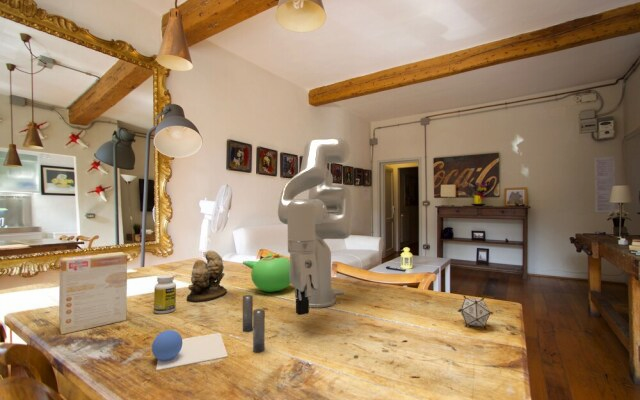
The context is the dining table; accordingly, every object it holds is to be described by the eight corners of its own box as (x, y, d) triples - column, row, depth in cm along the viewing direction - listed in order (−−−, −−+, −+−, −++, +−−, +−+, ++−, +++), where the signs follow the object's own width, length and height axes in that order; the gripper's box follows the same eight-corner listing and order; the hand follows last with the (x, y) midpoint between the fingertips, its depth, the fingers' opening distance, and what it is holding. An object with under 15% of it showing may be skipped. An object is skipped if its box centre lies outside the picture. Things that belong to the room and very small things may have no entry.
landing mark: (220, 333, 81) (220, 332, 81) (227, 356, 68) (227, 355, 68) (160, 343, 75) (160, 342, 75) (156, 370, 63) (156, 369, 63)
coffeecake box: (121, 314, 96) (122, 251, 96) (127, 320, 91) (128, 253, 91) (57, 327, 85) (59, 256, 86) (60, 335, 80) (62, 259, 81)
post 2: (263, 346, 73) (263, 308, 74) (265, 351, 71) (265, 311, 71) (252, 348, 72) (252, 309, 73) (254, 353, 70) (254, 313, 70)
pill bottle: (166, 315, 95) (167, 278, 96) (149, 313, 97) (149, 278, 97) (179, 308, 101) (180, 274, 102) (163, 307, 103) (163, 273, 103)
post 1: (251, 327, 85) (251, 294, 86) (253, 330, 83) (253, 296, 83) (241, 328, 84) (242, 295, 84) (243, 332, 82) (243, 298, 82)
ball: (161, 360, 69) (187, 342, 72) (161, 371, 64) (188, 351, 67) (146, 338, 68) (173, 321, 71) (145, 348, 63) (173, 328, 66)
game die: (478, 338, 87) (497, 308, 88) (483, 338, 80) (503, 305, 81) (449, 317, 91) (467, 289, 93) (450, 315, 84) (470, 285, 85)
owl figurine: (208, 288, 127) (209, 247, 127) (234, 291, 124) (235, 248, 124) (178, 301, 109) (179, 252, 110) (207, 304, 106) (208, 254, 107)
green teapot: (273, 299, 112) (273, 258, 112) (240, 292, 121) (240, 254, 121) (302, 288, 127) (302, 252, 127) (271, 283, 136) (271, 249, 136)
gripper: (326, 249, 79) (326, 321, 79) (304, 241, 92) (305, 302, 93) (298, 252, 76) (299, 326, 76) (280, 243, 89) (280, 306, 90)
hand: (302, 313), depth 84 cm, fingers closed
